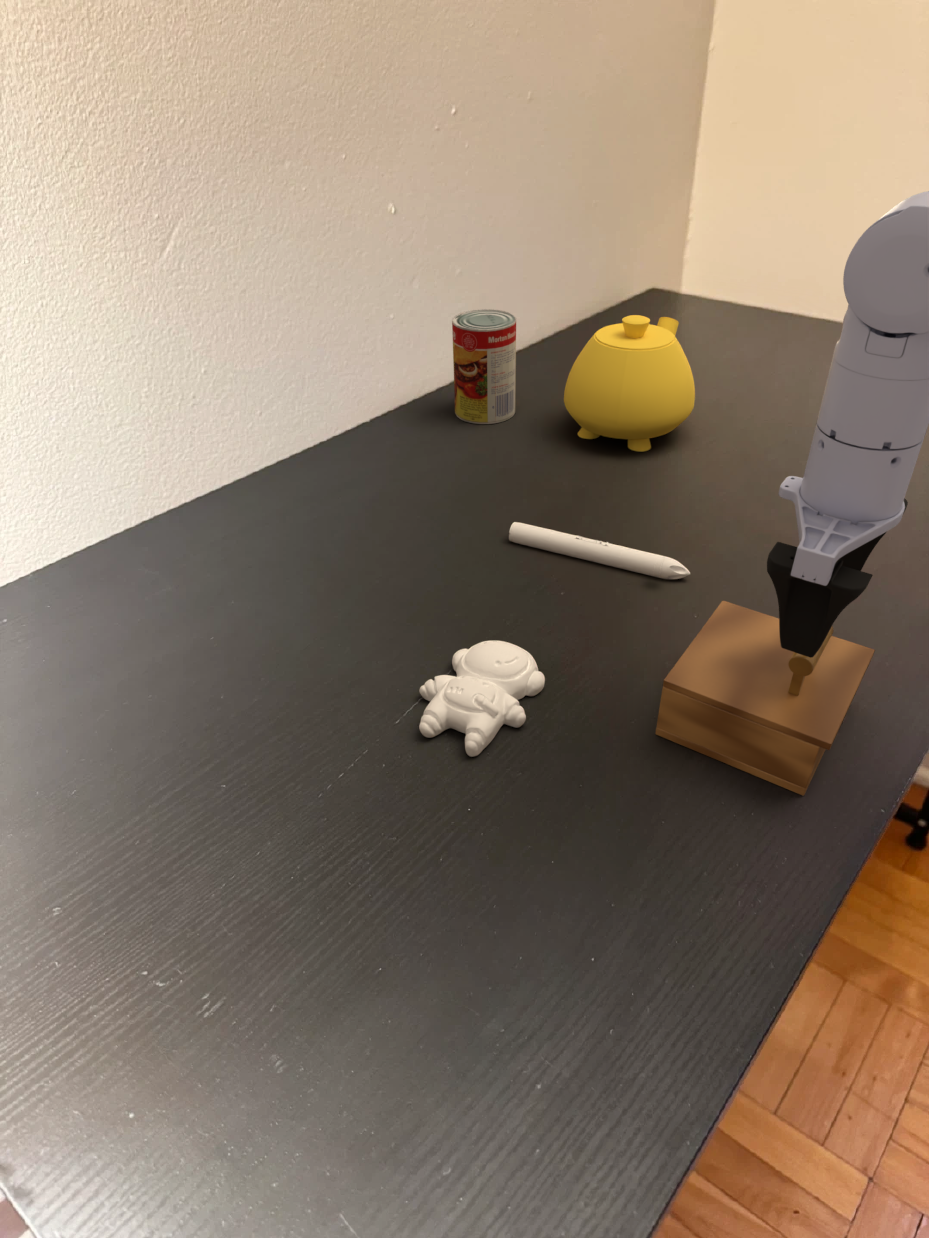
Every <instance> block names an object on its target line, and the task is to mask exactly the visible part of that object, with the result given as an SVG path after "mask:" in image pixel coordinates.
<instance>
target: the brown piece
mask: <svg viewBox="0 0 929 1238" xmlns="http://www.w3.org/2000/svg"><path fill="white" fill-rule="evenodd" d="M834 631H835V630H834V626H833V625H832V627H831V629H830V631H829V633H828V634H827V636H826V638H825V640H824V642H823V644H822V645H821V647H820V649H819V650H818V651H817V653H816V654H815V655H814V656H813V657H811V658H810V657H807V656H804V655H801V654H798V653H795V652H792V651H789V650H786V649H783V648H782V647H781V643H780V632H779V617H776V616H772V615H769V614H766V613H763V612H760V611H757V610H754V609H750V608H747V607H744V606H742V605H739V604H736V603H732V602H729V601H726V600H721V602H720V603H719V605H718V606H717V607H716V608H715V610H714V611H713V613H712V614H711V615H710V617H709V618H708V619H707V621H706V622H705V623H704V625H703V626H702V628H700V630H699V632H697V635H696V636H695V637H694V638H693V640H692V641H691V642H690V644H689V645H688V647H686V649H685V650H684V652H683V654H681V656H680V657H679V659H678V660H677V661H676V663H675V664H674V665H673V667H672V668H671V669H670V671H669V672H668V674H667V675H666V676H665V678H664V679H663V680H662V681H663V683H662V688H663V687H666V688H669V689H671V690H674V691H676V692H679V693H682V694H684V695H687V696H689V697H692V698H695V699H697V700H700V701H702V702H705V703H708V704H710V705H713V706H715V707H718V708H720V709H723V710H726V711H728V712H731V713H733V714H736V715H739V716H741V717H744V718H746V719H749V720H752V721H754V722H757V723H759V724H762V725H764V726H767V727H770V728H772V729H775V730H777V731H780V732H783V733H785V734H788V735H790V736H793V737H796V738H798V739H801V740H803V741H806V742H808V743H811V744H814V745H816V746H819V747H821V748H824V749H826V750H827V751H830V750H831V748H832V746H833V744H834V741H835V740H836V737H837V735H838V733H839V731H840V729H841V726H842V724H843V723H844V720H845V718H846V716H847V713H848V712H849V709H850V707H851V705H852V703H853V700H854V698H855V696H856V694H857V692H858V690H859V688H860V685H861V683H862V681H863V679H864V676H865V674H866V673H867V671H868V668H869V666H870V664H871V662H872V660H873V657H874V655H875V652H876V649H874V648H871V647H867V646H864V645H861V644H859V643H856V642H852V641H849V640H846V639H843V638H840V637H837V636H834Z"/></svg>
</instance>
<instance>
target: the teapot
mask: <svg viewBox="0 0 929 1238" xmlns="http://www.w3.org/2000/svg"><path fill="white" fill-rule="evenodd" d="M621 321H622V322H621V323H615V324H609V325H605V326H603V327H602V328H599V329H598V330H596V332H595V333H594V334H593V335H592V336H591V337H590V339H589V340H588V341H587V343H585V345H584V346H583V348H582V349H581V351H580V352H579V354H578V355H577V357H576V359H575V361H574V362H573V364H572V366H571V368H570V370H569V373H568V376H567V379H566V382H565V386H564V392H563V394H564V395H563V403H564V407H565V409H566V411H567V412H568V414H569V415H570V416H571V417H572V419H573V420H574V421H575V422H576V423H577V424H578V425H579V426H580V429H579V431H577V436H578V437H579V438H581V439H584V440H585V439H586V440H593V439H594V440H595V439H597V438H599V437H600V436H602V437H605V438H610V439H611V438H612V439H619V440H627V448H628V449H629V450H631V451H634V452H647V451H649V450H651V449H652V444H651V439H653V438H657V437H661V436H664V435H666V434H669V433H670V432H672V431H674V430H675V429H676V428H677V427H678V426H680V425H681V424H683V423H684V422H685V421H686V420H687V418H689V417H690V416H691V414H692V412H693V410H694V407H695V402H696V401H695V400H696V388H695V387H696V386H695V379H694V374H693V371H692V368H691V365H690V363H689V359H688V357H687V356H686V353H685V352H684V349H683V347H682V345H681V343H680V342H679V340H678V339H677V336H676V334H677V331H678V327H679V324H680V322H679V321H678V320H677V319H675V318H673V317H669V316H661V317H659V318H658V321H657V324H656V325H655V324H651V323H650V322H651V319H650V318H649V317H647V316H644V315H639V314H632V315H627V316H624V317H623V318H622V319H621Z"/></svg>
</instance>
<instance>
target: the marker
mask: <svg viewBox="0 0 929 1238" xmlns="http://www.w3.org/2000/svg"><path fill="white" fill-rule="evenodd" d="M508 533H509V534H508V541H509V542H512V543H514V544H519V545H523V546H526V547H530V548H535V549H539V550H543V551H548V552H551V553H555V554H560V555H564V556H567V557H571V558H576V559H581V560H585V561H588V562H592V563H595V564H600V565H605V566H609V567H613V568H617V569H621V570H626V571H630V572H632V573H633V572H634V573H637V574H642V575H646V576H650V577H654V578H657V579H663V580H678V579H679V580H680V579H683V578H685V577H688V576H690V575H691V572H690V570H689V569H688V568H687V567H686V566H685V565H683V564H682V563H681V562H680V561H679V560H677V559H674V558H672V557H669V556H666V555H662V554H658V553H652V552H648V551H644V550H640V549H635V548H631V547H626V546H623V545H620V544H619V545H617V544H613V543H610V542H609V541H606V542H605V541H602V540H598V539H592V538H588V537H584V536H581V535H575V534H571V533H567V532H562V531H558V530H555V529H549V528H546V527H540V526H537V525H532V524H529V523H524V522H518V521H514V522H512V524H511V525H510V528H509V531H508Z"/></svg>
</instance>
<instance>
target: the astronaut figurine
mask: <svg viewBox="0 0 929 1238" xmlns="http://www.w3.org/2000/svg"><path fill="white" fill-rule="evenodd" d="M451 664H452V669H453V671H454V672H455V673H456V675H450V674H449V675H448V674H440V675H435V676H434V680H433V679H432V678H430V679H427V680H426V681H425V682H424V684H423V685H421V686H420V687H419V689H418V690H419V694H420V696H421V697H422V699H424V700H426V701H428V702H429V703H428V704H427V705H426V707H425V709H424V711H423V713H422V715H421V718H420V722H419V725H418V727H419V731H420V733H421V735H422V736H423V737H425V738H434V737H436V736H438V735H440V734H442V733H443V732H444V731H446V730H448V729H452V730H455V731H457V732H460V733H463V734H465V736H464V750H465V753H466V754H467V756H469V757H471V758H472V757H477V756H479V755H480V754H481V753H482V752H483V750H485V748H487V747H488V746H489V745H490V743H491V742H492V741H493V740H494V738H495V737H496V736H497V734H498V733H499V731H500V730H501V728H502V726H503V725H507V726H509V727H513V728H517V729H518V728H520V727H522V726H523V725H525V723H526V721H527V715H526V712H525V709H524V708H523V706H521V705H520V701H519V700H521V699H523V698H524V697H525V696H528V697H534V696H536V695H538V694H539V693H541V692H542V691H543V689H544V687H545V683H546V677H545V675H544V673H543V672H542V671H539V668H538V667H539V666H538V665H537V662H536V660H535V658H534V657H533V655H532V654H531V653H530V652H529V651H527V650H526V649H524V648H523V647H520V646H518V645H516V644H513V643H511V642H509V641H508V642H507V641H504V640H484V641H480V642H478V643H476V644H474V645H472V646H470V648H461V649H459V650H457V651H456V652H455V653H454V654H453V655H452V659H451Z"/></svg>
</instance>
